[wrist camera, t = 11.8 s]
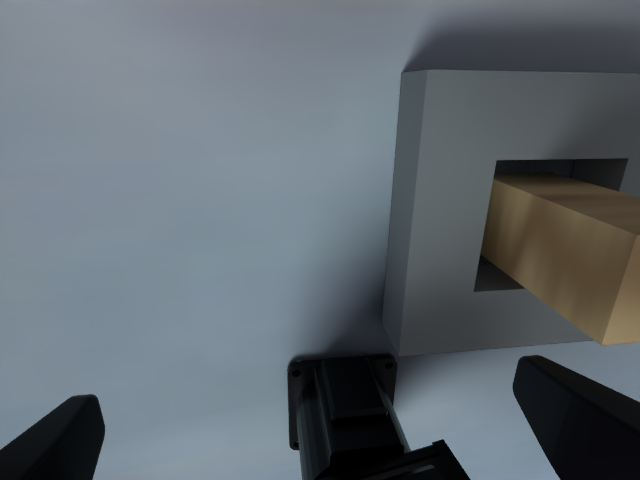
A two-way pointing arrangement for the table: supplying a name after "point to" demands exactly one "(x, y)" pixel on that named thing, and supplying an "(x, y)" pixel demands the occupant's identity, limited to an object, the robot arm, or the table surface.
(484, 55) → the table surface
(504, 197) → the peg
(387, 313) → the socket block
